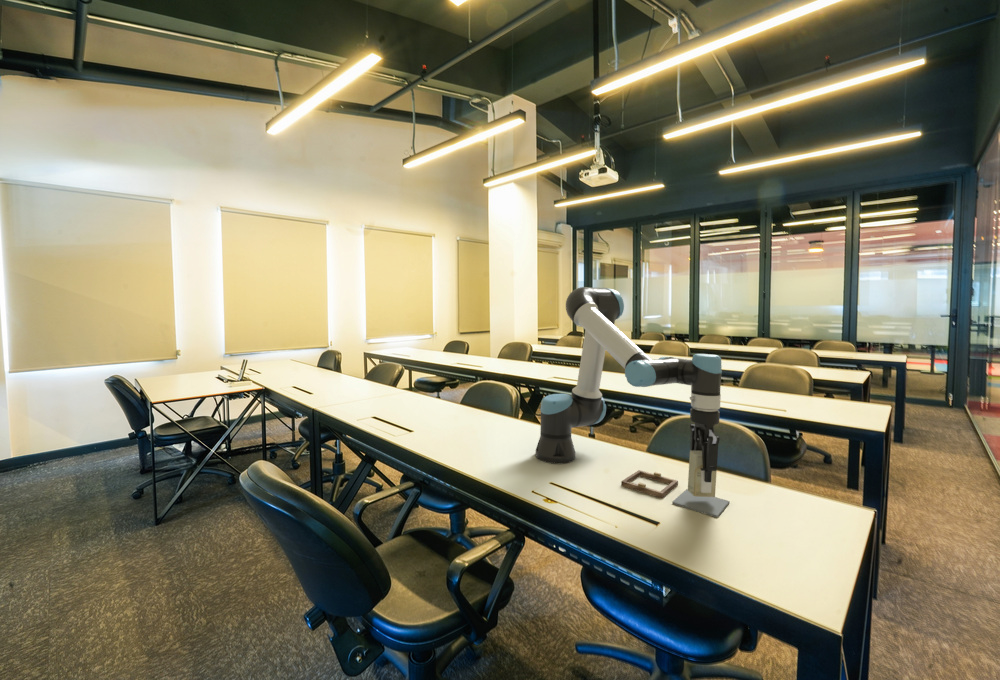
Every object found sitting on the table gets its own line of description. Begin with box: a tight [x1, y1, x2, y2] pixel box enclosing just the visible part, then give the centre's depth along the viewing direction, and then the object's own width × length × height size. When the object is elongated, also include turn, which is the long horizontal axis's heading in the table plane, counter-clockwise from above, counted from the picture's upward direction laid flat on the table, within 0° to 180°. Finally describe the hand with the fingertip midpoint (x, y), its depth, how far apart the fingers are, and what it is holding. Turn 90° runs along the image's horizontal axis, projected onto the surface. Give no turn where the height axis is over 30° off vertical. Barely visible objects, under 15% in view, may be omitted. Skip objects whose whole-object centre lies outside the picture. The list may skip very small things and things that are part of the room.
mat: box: [671, 488, 730, 518], centre depth 121 cm, size 12×12×1 cm
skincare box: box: [687, 450, 718, 497], centre depth 120 cm, size 6×4×12 cm
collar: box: [620, 469, 679, 499], centre depth 133 cm, size 13×13×2 cm
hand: (701, 488), depth 121 cm, fingers closed on skincare box, 4 cm apart
